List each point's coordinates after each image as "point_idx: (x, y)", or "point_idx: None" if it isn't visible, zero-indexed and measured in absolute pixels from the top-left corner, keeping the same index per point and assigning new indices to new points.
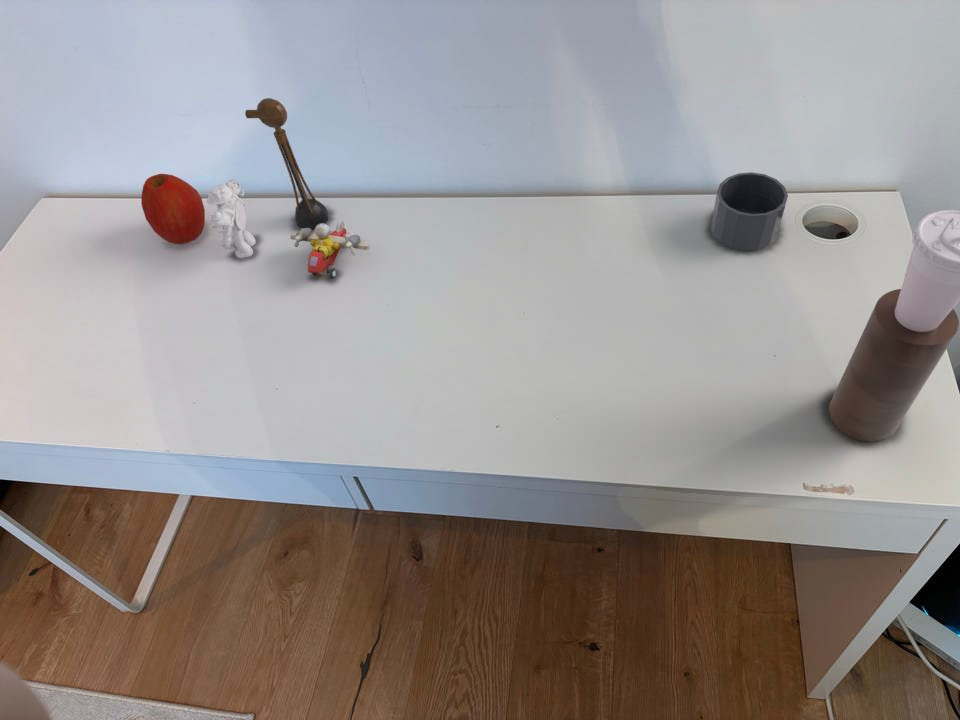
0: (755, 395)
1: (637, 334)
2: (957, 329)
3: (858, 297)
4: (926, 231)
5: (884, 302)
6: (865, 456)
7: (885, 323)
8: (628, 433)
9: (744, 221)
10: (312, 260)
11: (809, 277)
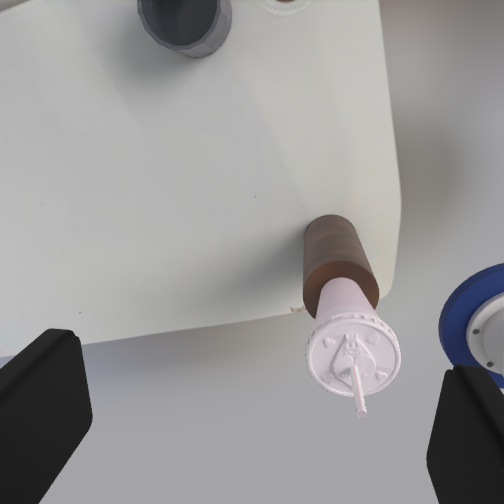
0: (246, 242)
1: (139, 203)
2: (376, 304)
3: (324, 97)
4: (316, 357)
5: (311, 285)
6: None
7: (312, 309)
8: (166, 297)
9: (183, 51)
10: None
11: (274, 80)
